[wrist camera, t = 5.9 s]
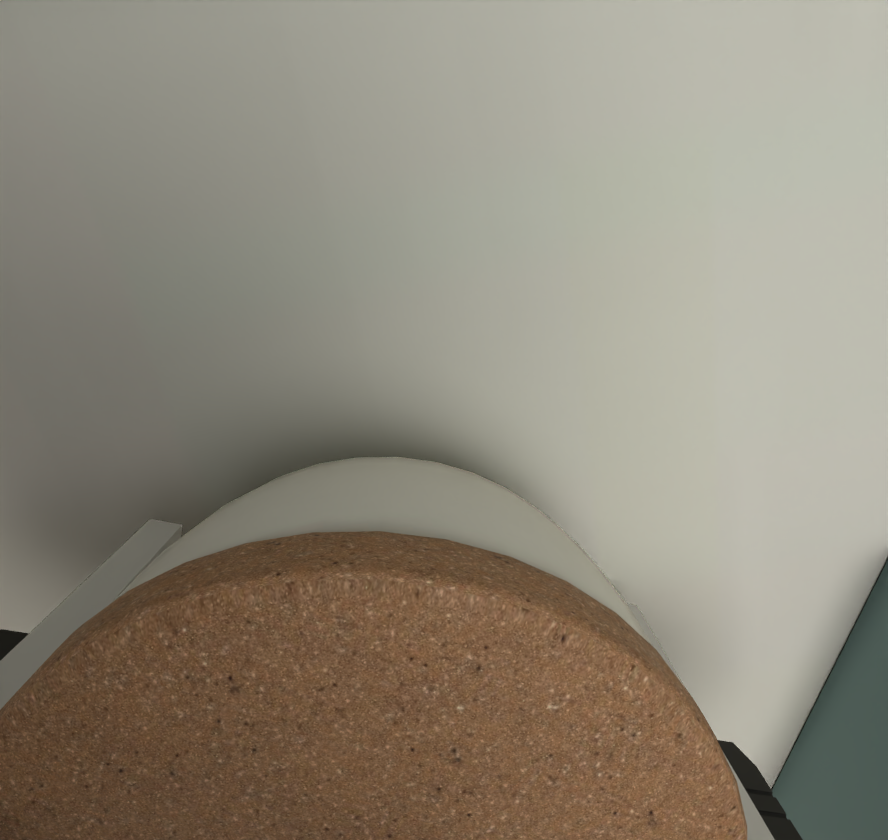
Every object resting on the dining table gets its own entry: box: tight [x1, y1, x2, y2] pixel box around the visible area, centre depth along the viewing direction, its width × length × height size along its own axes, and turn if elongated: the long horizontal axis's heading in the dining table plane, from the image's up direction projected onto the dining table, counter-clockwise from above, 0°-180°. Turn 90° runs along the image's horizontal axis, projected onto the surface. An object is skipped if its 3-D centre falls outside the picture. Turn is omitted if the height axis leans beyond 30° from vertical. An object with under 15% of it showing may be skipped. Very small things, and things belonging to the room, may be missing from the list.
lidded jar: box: [0, 457, 747, 840], centre depth 10 cm, size 11×11×9 cm
